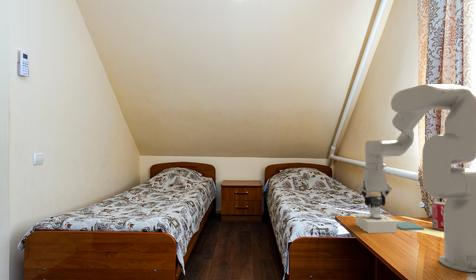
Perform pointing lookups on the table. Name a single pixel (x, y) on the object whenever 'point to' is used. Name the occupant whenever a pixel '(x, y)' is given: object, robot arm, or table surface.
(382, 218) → the block
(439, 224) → the soda can
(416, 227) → the pad
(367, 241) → the table surface
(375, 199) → the handwheel peg
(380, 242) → the table surface
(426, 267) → the table surface
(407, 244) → the table surface
